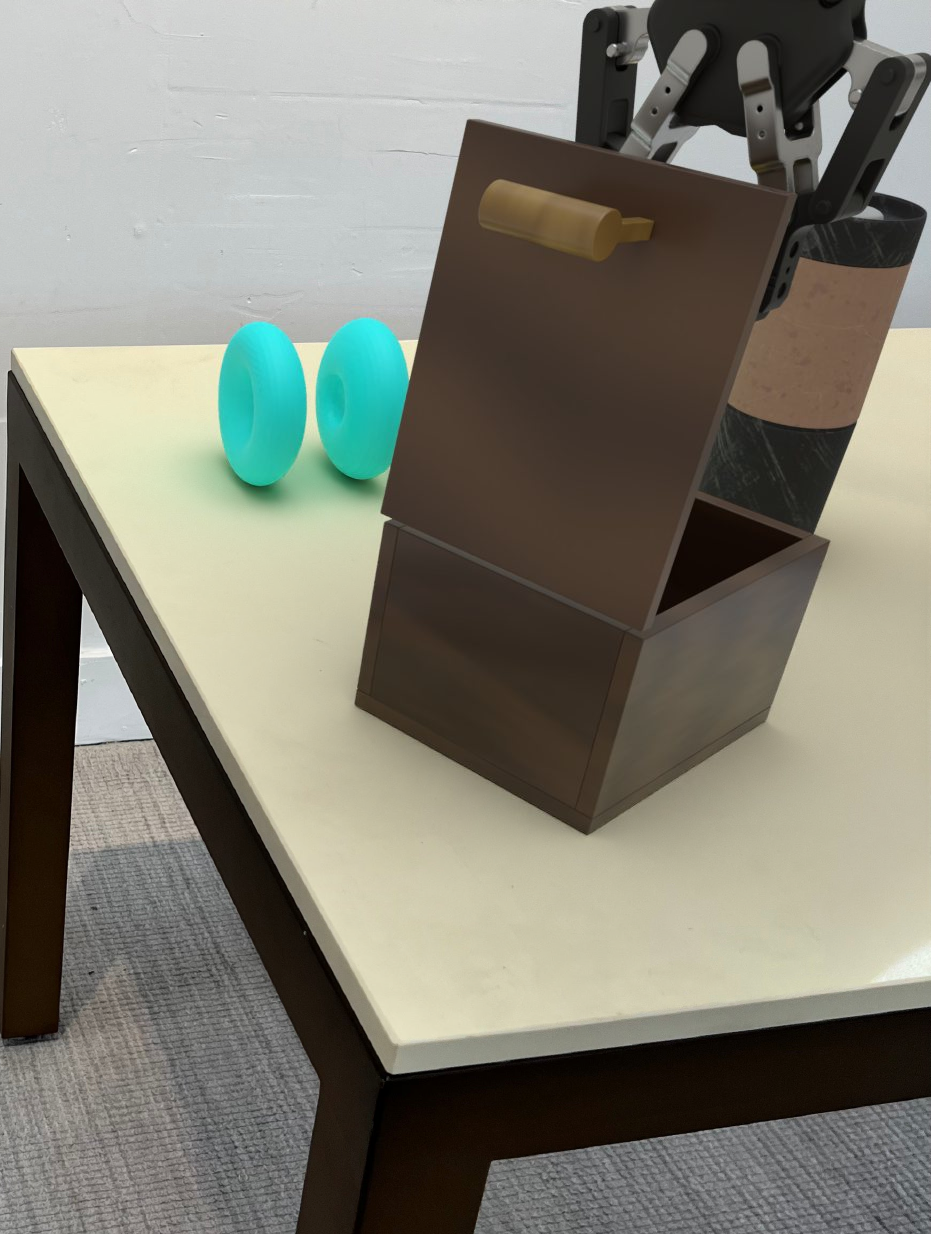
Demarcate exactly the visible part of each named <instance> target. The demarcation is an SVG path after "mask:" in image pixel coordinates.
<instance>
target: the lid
mask: <svg viewBox="0 0 931 1234" xmlns="http://www.w3.org/2000/svg"><path fill="white" fill-rule="evenodd" d="M796 199H797V194H796V193H791V192H787V191H783V190H779V189H774V188H770V187H766V186H762V185H758V183H753V182H748V181H744V180H739V179H735V178H732V177H727V176H723V175H719V174H714V173H710V172H705V171H703V170H702V171H701V170H697V169H693V168H689V167H685V166H680V165H676V164H671V163H670V164H668V163H664V162H659V161H655V160H651V159H647V158H642V157H638V156H634V155H630V154H625V153H621V152H617V151H613V150H608V149H604V148H600V147H596V146H591V145H587V144H583V143H579V142H575V140H570V139H565V138H561V137H557V136H553V135H550V134H549V135H548V134H544V133H539V132H535V131H531V130H528V129H523V128H518V127H515V126H510V125H506V124H501V123H499V122H498V123H497V122H494V121H488V120H484V119H480V118H468V119H467V120H466V122H465V127H464V132H463V136H462V140H461V144H460V149H459V154H458V158H457V164H456V168H455V172H454V177H453V181H452V185H451V190H450V194H449V199H448V204H447V208H446V213H445V217H444V222H443V226H442V231H441V236H440V240H439V244H438V249H437V253H436V258H435V262H434V267H433V271H432V276H431V281H430V285H429V290H428V293H427V299H426V303H425V309H424V312H423V318H422V322H421V325H420V326H421V327H420V331H419V334H418V335H419V336H418V340H417V345H416V348H415V353H414V358H413V363H412V367H411V371H410V376H409V385H408V389H407V394H406V398H405V403H404V407H403V412H402V416H401V421H400V425H399V430H398V434H397V439H396V444H395V448H394V453H393V457H392V462H391V466H390V467H389V472H388V476H387V480H386V484H385V488H384V489H385V490H384V494H383V499H382V503H381V506H380V507H381V508H380V514H381V515H383V516H385V517H387V518H390V519H394V520H396V521H398V522H400V523H403V524H405V525H407V526H409V527H412V528H414V529H416V530H418V531H420V532H423V533H425V534H427V535H429V536H431V537H434V538H436V539H438V540H440V541H442V542H445V543H447V544H449V545H451V546H453V547H456V548H458V549H460V550H462V551H464V552H467V553H469V554H471V555H473V556H475V557H478V558H480V559H482V560H484V561H486V562H489V563H491V564H493V565H495V566H498V567H500V568H502V569H504V570H506V571H509V572H511V573H513V574H515V575H517V576H520V577H522V578H524V579H526V580H528V581H531V582H533V583H535V584H537V585H539V586H542V587H544V588H546V589H548V590H550V591H553V592H555V593H557V594H559V595H561V596H564V597H566V598H568V599H570V600H572V601H575V602H577V603H579V604H581V605H583V606H586V607H588V608H590V609H592V610H595V611H597V612H599V613H601V614H603V615H606V616H608V617H610V618H612V619H614V620H617V621H619V622H621V623H623V624H625V625H628V626H630V627H632V628H634V629H636V630H639V631H645V630H647V629H650V628H651V627H652V624H653V621H654V618H655V615H656V612H657V609H658V606H659V603H660V600H661V597H662V595H663V592H664V589H665V586H666V583H667V580H668V577H669V574H670V571H671V568H672V565H673V562H674V559H675V556H676V553H677V550H678V547H679V544H680V541H681V538H682V535H683V532H684V530H685V527H686V524H687V521H688V518H689V515H690V512H691V509H692V506H693V503H694V500H695V497H696V494H697V491H698V488H699V485H700V482H701V479H702V476H703V473H704V470H705V467H706V465H707V462H708V459H709V456H710V453H711V450H712V447H713V444H714V441H715V438H716V435H717V432H718V429H719V426H720V423H721V420H722V417H723V414H724V411H725V408H726V405H727V402H728V399H729V397H730V394H731V391H732V388H733V385H734V382H735V379H736V376H737V373H738V370H739V367H740V364H741V361H742V358H743V355H744V352H745V349H746V346H747V343H748V340H749V337H750V334H751V332H752V329H753V326H754V323H755V320H756V317H757V314H758V311H759V308H760V305H761V302H762V299H763V296H764V293H765V290H766V287H767V284H768V281H769V278H770V275H771V272H772V269H773V266H774V264H775V261H776V258H777V255H778V252H779V249H780V246H781V243H782V240H783V237H784V234H785V231H786V228H787V225H788V222H789V219H790V216H791V213H792V210H793V207H794V204H795V201H796Z"/></svg>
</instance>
